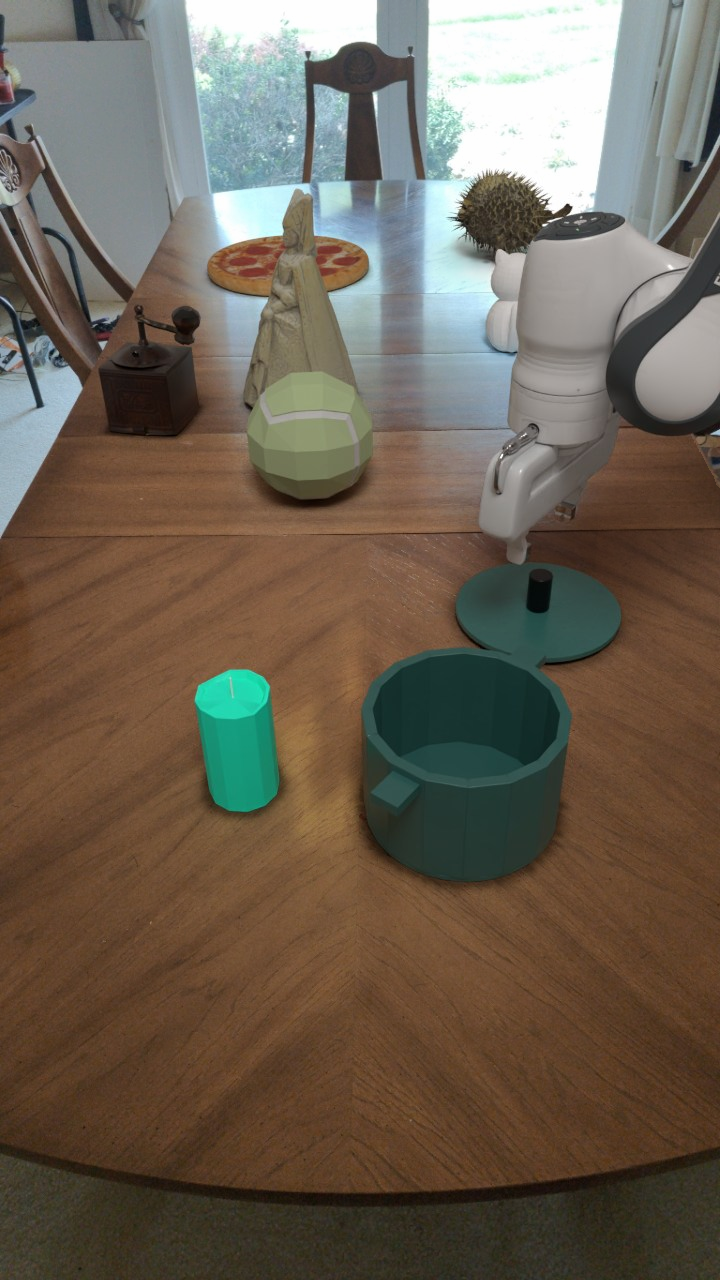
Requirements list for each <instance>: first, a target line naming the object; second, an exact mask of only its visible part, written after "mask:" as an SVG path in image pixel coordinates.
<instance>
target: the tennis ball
mask: <svg viewBox="0 0 720 1280" xmlns="http://www.w3.org/2000/svg"><path fill="white" fill-rule="evenodd" d="M373 429H374V428H373V421H372V415H371V412H370V410H369V409H368V408H367V406H366V404H365V403H364V401H363V399H362V398H361V397H360V395H359V393H358V392H356V390H355V389H354V387H353V386H351V385H349V384H347V383H344V382H342V381H340V380H338V379H336V378H334V377H332V376H330V375H328V374H326V373H324V372H322V371H320V372H299V373H290V374H288V375H287V376H285V377H284V378H282V379H280V380H279V381H277V382H276V383H274V384H272V385H271V386H269V387H268V388H266V389H265V391H264V392H263V394H261V395H259V397H258V399H257V401H256V404H255V406H254V408H253V407H252V409H251V412H250V414H249V416H248V417H247V424H246V438H247V448H248V458H249V462H250V464H252V466H253V467H254V468H255V469H256V472H258V473H259V475H260V476H261V478H262V479H263V481H264V482H265V483H266V484H268V485H269V486H271V488H273V489H275V490H276V491H278V492H280V493H282V494H285V495H287V496H291V497H294V498H295V499H297V500H317V499H319V500H321V499H329V498H332V497H333V496H335V495H336V494H339V493H341V492H342V491H344V490H347V489H349V488H351V487H352V486H353V485H355V484H356V483H357V482H358V480H359V479H360V477H361V475H362V474H363V472H364V470H365V469H366V467H367V465H368V464H369V462H370V461H371V458H372V457H373V455H374V440H373V439H374V436H373V435H374V434H373V433H374V432H373Z"/></svg>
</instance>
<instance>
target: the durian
mask: <svg viewBox="0 0 720 1280" xmlns="http://www.w3.org/2000/svg"><path fill="white" fill-rule="evenodd" d="M499 170H500V169H495V171H494V173H493V170H491V169H486V171H485V172H484V171H482V176H481V175H480V173H476V174H477V176H475V175H472V176H473V177H474V179H475V181H474V180H473V179H472V178H470V179H469V181H470V182H469V181H467V183H468V184H469V185H470V186H468V185H467V184H465V188H466V189H462V191H464V192H462V191H460V193H459V196H460V197H461V198H462V199H463V200H459V199H457V201H455V204H458V205H459V206H457V207H456V210H458V211H457V212H450V211H449V213H451V214H454V215H456V216H447V217H446V219H447V220H448V221H449V222H456V223H460V224H456V225H454V227H455V228H454V229H453V230H452V232H454V231H456V230H458V229H460V231H461V230H463V229H465V232H464V233H463V234H462V235H461V236H460V237H458V238H457V239H456V241H455V242H458V241H459V240H460V239H461V238H463V237H464V240H465V242H467V238H468V239H469V240H468V241H469V242H472V244H473V249H474V250H477V254H478V255H479V252H480V251H479V250H480V249H482V250H483V254H484V253H485V252H487V257H490V256H489V255H490V251H491V250H492V261H495V256H496V251H497V250H498V249H502V250H503V251H505V252H506V253H507V254H509V252H510V254H512V253H524V252H523V250H524V251H525V252H526V253H527V251H528V248H529V245H530V243H531V241H532V240H533V238H534V237H535V236H536V234H537V233H538V232H539V231H540V230H541V229H542V228H544V227H545V226H546V225H547V224H549V223H550V222H551V221H554V220H557V219H561V218H562V217H565V216H569V215H570V214H571V213H572V210H573V207H574V205H571V204H570V203H565V204H564V206H563V207H562V208H560V209H559V210H557V211H556V212H555V210H553V209H552V210H550V209H548V207H547V206H549V205H550V203H549V201H550V199H552V197H553V195H551V196H550V197H548V198H544V197H545V196H547V195H548V194H549V193H548V192H547V193H543V194H542V195H540V193H542V192H543V191H544V188H543V189H541V188H542V186H541V187H539V186H538V187H536V185H537V183H538V182H534V183H533V181H532V180H531V178H529V179H528V180H526V179H525V178H526V176H524V175H523V173H522V174H521V175H520V176H518V177H516V176H517V175H518V174H519V172H518V171H515V172H514V173H513V174H512V175H511V173H512V171H509V170H507V171H506V172H505V168H503V170H502V171H501V172H500V171H499ZM510 175H511V176H510ZM525 180H526V181H525ZM534 187H535V188H534ZM533 188H534V189H533ZM467 189H468V190H467ZM538 195H540V196H538ZM552 204H553V203H551V205H552ZM553 212H554V213H553ZM471 239H472V241H471ZM475 244H476V245H475ZM475 248H476V249H475ZM522 248H523V250H522ZM513 251H514V252H513Z"/></svg>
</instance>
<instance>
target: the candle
mask: <svg viewBox="0 0 720 1280" xmlns="http://www.w3.org/2000/svg"><path fill="white" fill-rule="evenodd" d="M271 692H272V691H271V686H270V685H269V682H268V681H267V679H266V678H265V677H264V676H263V675H260V674H258V673H256V672H254V671H252V670H250V669H228V670H226V671H224V672H222V673H220V674H217V675H216V676H214V677H211V678H209V679H208V680H206V681H204V682H202V683H200V684H198V686H197V690H196V693H195V698H194V705H195V712H196V718H197V723H198V729H199V736H200V742H201V747H202V754H203V760H204V766H205V772H206V778H207V784H208V790H209V793H210V795H211V797H212V800H213V802H214V803H215V804H216V805H218V806H219V807H220V808H223V809H225V810H227V811H229V812H243V813H249V812H252V811H255V810H258V809H261V808H264V807H266V806H267V805H268V804H269V803H271V801H272V800H273V799H274V798H275V797H276V796H277V795H278V791H279V787H280V781H281V779H280V771H279V760H278V749H277V742H276V732H275V731H276V730H275V721H274V713H273V712H274V711H273V702H272V693H271Z"/></svg>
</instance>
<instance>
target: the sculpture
mask: <svg viewBox="0 0 720 1280" xmlns="http://www.w3.org/2000/svg"><path fill="white" fill-rule="evenodd" d="M314 225H315V223H314V197H313V195H312V194H310V193H309V192H306V193H304V190H302V189H300V188H295V189H294V190H293V193H292V195H291V198H290V200H289V203H288V205H287V208H286V210H285V213H284V215H283V218H282V221H281V226H282V230H283V232H282V235H283V241H284V246H286V247H287V249H285V250H284V251H283V252H282V254H281V255H280V257H279V259H278V260H277V263H276V266H275V269H274V273H273V278H272V284H271V290H270V294H269V296H268V298H267V302H266V303H265V305H264V307H263V309H262V310H261V312H260V319H259V321H258V328H257V329H258V330H257V331H258V332H257V335H256V338H255V342H254V346H253V349H252V354H251V358H250V362H249V368H248V370H247V374H246V377H245V381H244V387H243V399H244V402H245V403H246V405H248V406H250V407H251V408H252V409H253V408H254V406H255V404H256V401H257V399H258V397H259V395H261V394H263V392H264V391H265V389H266V388H268V387H269V386H271V385H272V384H274V383H276V382H277V381H279V380H280V379H282V378H284V377H285V376H287V375H288V374H290V373H299V372H320V371H322V372H324V373H326V374H328V375H330V376H332V377H334V378H336V379H338V380H340V381H342V382H344V383H347V384H349V385H351V386H353V387H354V389H355V390H356V392H357V393H358V391H359V387H358V383H357V381H356V376H355V372H354V370H353V366H352V363H351V360H350V356H349V352H348V348H347V346H346V343H345V339H344V337H343V334H342V331H341V328H340V324H339V321H338V318H337V315H336V312H335V310H334V307H333V304H332V301H331V299H330V296H329V291H327V290H326V287H325V284H324V281H323V279H322V276H321V273H320V271H319V268H318V265H317V263H316V258H317V256H318V252H317V246H316V243H315V238H314V236H315V229H314Z"/></svg>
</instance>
